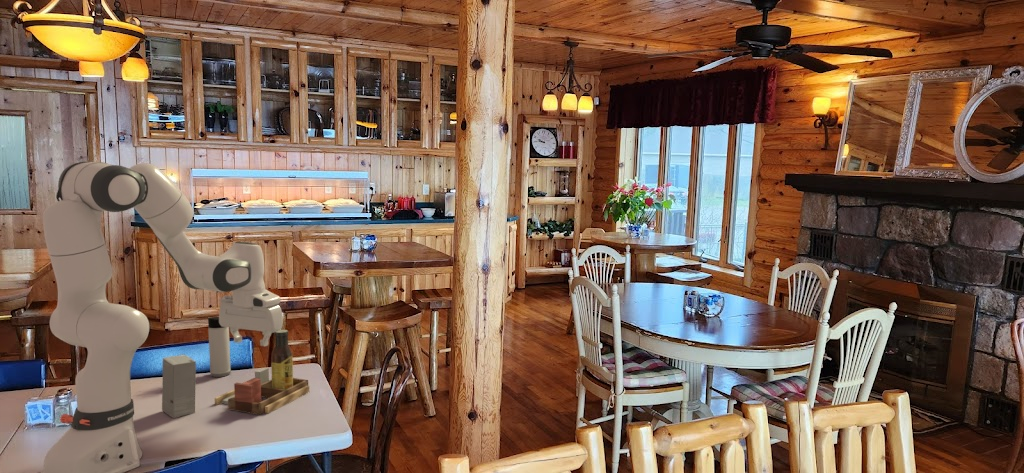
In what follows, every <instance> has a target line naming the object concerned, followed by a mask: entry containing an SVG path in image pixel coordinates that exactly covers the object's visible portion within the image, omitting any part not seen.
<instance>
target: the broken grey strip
mask: <svg viewBox="0 0 1024 473" xmlns="http://www.w3.org/2000/svg"><path fill="white" fill-rule="evenodd" d="M269 373H270V370H269V367H262V368H260V369H259V368H258V369H257V370H255V371H254V378H257V379H261V384H263V383H265V382H267V381H269V380H270V374H269ZM234 396H235V395H233V396H230V397H228V398H226V399H224V400H222V403H221V404H223V403H224V404H225V405H228V399H230V398H232V397H234Z"/></svg>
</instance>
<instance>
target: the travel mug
mask: <svg viewBox="0 0 1024 473" xmlns="http://www.w3.org/2000/svg"><path fill="white" fill-rule="evenodd" d="M207 323H208V327H207V328H208V330H207V331H208V346H209V347H208V351H209V354H208V355H209V370H210V371H209V372H210V377H213V378H223V377H227V376H229V375H230V374H231V373H232V372H231V370H232V369H231V350H230V348H231V346H230V327H222V326H221V325H220V323H219V316H215V317H214V316H212V317H208V318H207Z"/></svg>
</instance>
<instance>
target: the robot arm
mask: <svg viewBox="0 0 1024 473" xmlns="http://www.w3.org/2000/svg"><path fill="white" fill-rule="evenodd" d="M57 184H58V185H57V188H58V189H57V191H56V195H55V197H56V200H57V201H56V202H53V203H51V204H50V205H49V206H48V207H46V208H45V209H44V211H43V214H42V225H43V235H44V239H45V240H44V241H45V245H46V249H47V254H48V256H49V259H50V260H49V261H50V262H51V266H52V270H53V274H54V277H55V281H56V288H57V303H56V304H57V305H56V308H55V309H54V310H53V311H52V313H51V315H50V318H49V328H50V331H51V333H52V335H53V336H55V337H56V338H58V339H59V340H60V341H63V342H64V343H66V344H69V345H72V346H76V347H83V348H86V349H87V358H86V362H85V364H84V367H83V368H82V369H80V370H79V371H78V372H77V374H76V375H75V380H74V381H75V393H76V394H75V395H76V408H75V411H74V412H73V415H72V414H67V413H63V414H62V415H61V416H60V418H59V421H60V423H61V424H62V423H63V424H65V425H66V424H67V425H68V424H69V425H70V427H69V429H68V430H66V432H65V433H63V435H62V436H61V437H60V438H59V439H58V440H57V441H56V442H55V443H54V444H53V445H52V446H51V448H49V450H48V451H47V452H46V454H45V456H44V461H43V462H44V463H43V470H42V471H40V472H39V473H126V472H128V471H131V470H134V469H136V468H138V467H140V465H141V462H140V461H141V460H140V459H141V458H142V456H143V451H142V450H141V448H140V445H139V441H138V438H137V435H136V434H137V433H136V429H135V423H134V418H133V417H134V415H135V405H134V399H133V398H132V392H131V391H132V390H131V368H132V363H133V359H134V356H135V353H136V351H137V350H138V349H139V348H140V347H141V346H142V345H143V344H144V343H145V341H146V340H147V338H148V336H149V332H150V322H149V319H148V317H147V315H146V314H144V313H143V312H142V311H140V310H138V309H136V308H134V307H131V306H129V305H126V304H118V303H113V302H109V301H108V299H107V294H106V287H107V284H108V282H109V281H110V280H111V279H112V278H113V276H114V275H113V274H114V270H113V267H112V264H111V260H110V256H109V251H108V248H107V244H106V240H105V238H104V234H103V230H102V229H101V228H102V223H101V222H102V217H103V215H104V212H109V213H120V212H125V211H128V210H131V209H135V211H136V212H137V213H138V215H139V216H140V217H141V219H143V221H145V223H146V224H147V225H148V226H149V227H150V229H151V230H152V232H153V234H154V235H155V237H156V238H157V240H158V241H159V243H160V244H161V246H162V247H163V248H164V250H165V251H166V253H167V255H169V257H170V258H171V259H172V260H173V261H174V263H175V265H176V267H177V269H178V273H179V276H180V278H181V280H182V282H183V283H184V284H185V285H186V286H187V287H188V288H190V289H192V290H206V291H212V292H219V293H230V292H232V293H231V294H232V295H229V294H225V295H223V296H222V297H221V298H220V300H219V301H220V302H219V304H220V306H219V310H218V311H219V313H218V317H219V323H220V325H221V326H222V327H229V333H231V335H232V336H233V343H237V344H240V343H242V342H243V336H242V335H241V334H240V332H239V330H248V331H257V332H262V335H263V338H262V339H260V340H259V342H260V344H259V346H261V347H267V346H269V339H270V337H271V336H272V334H273V333H275V332H277V331H279V330H282V328H283V325H284V324H283V311H282V307H281V306H280V305H279V304H281V297H280V296H279V295H278V294H276V293H273V292H271V291H269V290H268V289H266V284H265V280H264V275H265V258H264V253H263V249H262V247H261V245H260V244H258V243H256V242H249V241H248V242H247V241H235V242H233V243H232V245H231V246H230V247H229V248H228V250H226V251H225V252H223V253H222V254H220V255H218V256H217V255H211V254H210V255H209V254H207V253H203V252H201V251H200V250H198V249H197V248H196V247H195V246H194V244H193V243H192V241H191V240H190V238H188V235H187V234H186V232H184V231H185V230H186V229H187V228H188V227H189V226H190V224H191V223H192V220H193V216H194V208H193V205H192V204H191V202H190V200H189V199H188V198H187V196H186V195H185V194H184V192H182V191H181V189H180V187H178V185H176V183H175V182H174V181H173V180H172V179H171V178H170V177H169V176H167V174H165V173H164V172H163V171H162V170H161V169H160V168H158V166H156V165H155V164H152V163H149V162H147V163H145V162H143V163H142V162H141V163H137V164H135V165H133V166H130V167H129V168H128V167H126V166H123V165H119V164H118V165H117V164H116V165H115V164H110V163H107V162H102V161H91V162H90V161H79V162H75V163H72V164H70V165H68V166H67V167H66V168H64V169H63V170H62V172H61V174H60V176H59V178H58V183H57Z"/></svg>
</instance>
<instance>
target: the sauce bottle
mask: <svg viewBox="0 0 1024 473" xmlns="http://www.w3.org/2000/svg"><path fill="white" fill-rule="evenodd" d="M288 336H289V330H287V329H281V330H279V331H277V332H274V337H275V338H274V339H275V341H274V345H275V346H274V348H272V351H271V361H270V362H271V380H272V388H277V389H283V390H286V389H288V388H290V387H292V386H293V378H294V371H293V370H294V369H293V368H294V365H293V364H294V360H293V358H294V357H293V356H294V355H293V353H292V350H291V348H290V345H289V337H288Z"/></svg>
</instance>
